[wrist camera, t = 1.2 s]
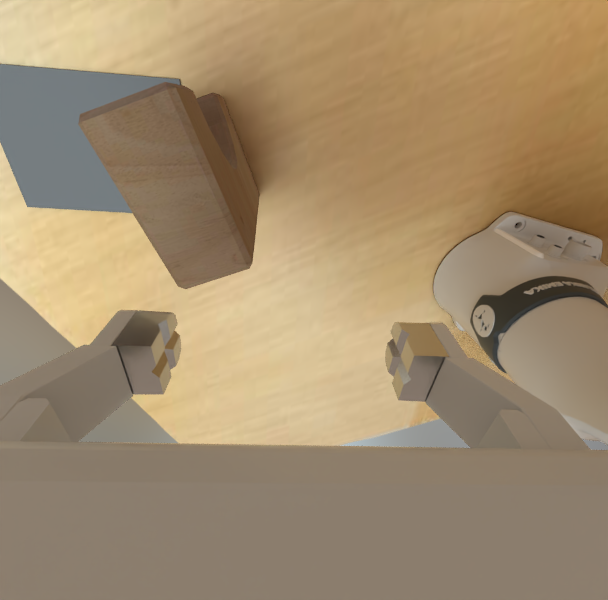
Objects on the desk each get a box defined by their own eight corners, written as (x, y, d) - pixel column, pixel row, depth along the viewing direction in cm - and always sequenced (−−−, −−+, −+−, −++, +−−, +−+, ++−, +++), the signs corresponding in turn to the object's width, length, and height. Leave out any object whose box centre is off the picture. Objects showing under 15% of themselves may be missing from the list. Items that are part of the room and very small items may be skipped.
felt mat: (180, 79, 31) (179, 79, 31) (196, 215, 39) (196, 216, 39) (-31, 61, 30) (-34, 61, 30) (29, 206, 38) (27, 206, 37)
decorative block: (172, 110, 32) (68, 114, 16) (223, 92, 32) (174, 77, 15) (217, 211, 38) (176, 294, 21) (260, 197, 38) (254, 270, 21)
